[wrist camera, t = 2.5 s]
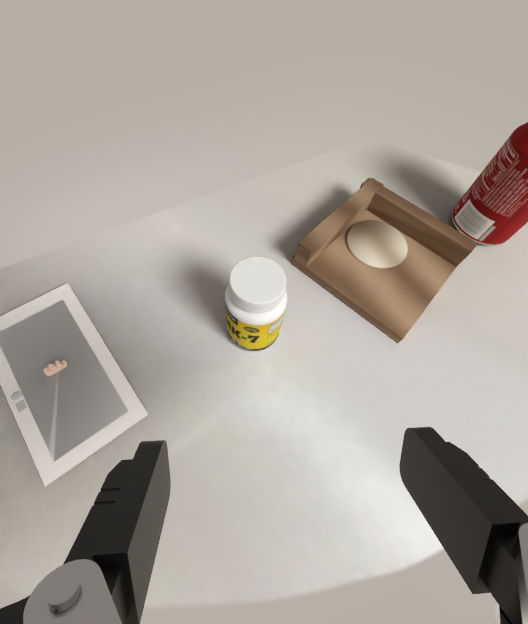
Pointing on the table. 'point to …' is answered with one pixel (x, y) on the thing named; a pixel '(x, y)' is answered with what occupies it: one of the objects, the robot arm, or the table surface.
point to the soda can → (497, 195)
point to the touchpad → (62, 382)
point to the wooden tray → (382, 257)
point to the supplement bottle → (255, 303)
